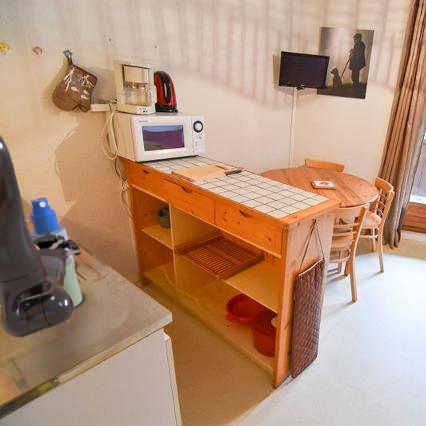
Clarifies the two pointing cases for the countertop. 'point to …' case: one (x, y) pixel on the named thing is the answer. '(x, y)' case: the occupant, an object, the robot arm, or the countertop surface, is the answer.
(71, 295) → the dispenser
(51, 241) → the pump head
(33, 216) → the spray bottle
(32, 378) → the countertop surface
